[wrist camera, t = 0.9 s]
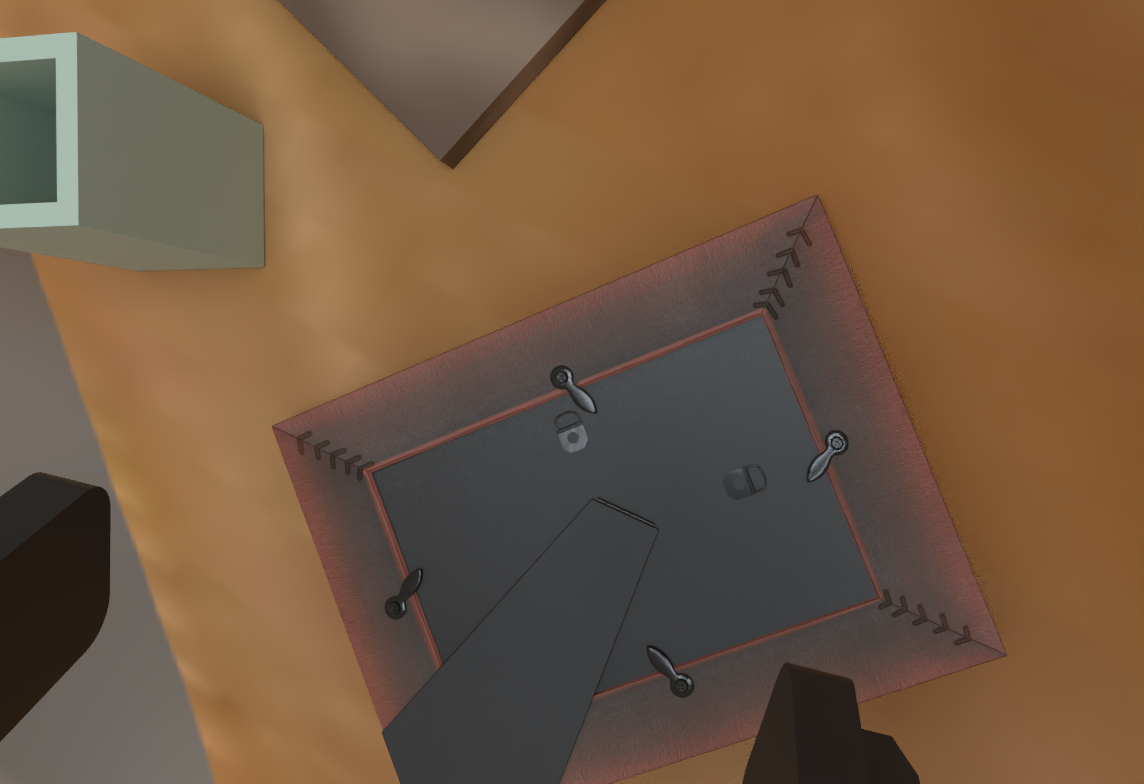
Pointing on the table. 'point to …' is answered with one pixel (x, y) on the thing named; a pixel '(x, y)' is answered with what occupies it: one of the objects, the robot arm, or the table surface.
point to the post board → (444, 56)
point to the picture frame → (637, 520)
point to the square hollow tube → (123, 162)
